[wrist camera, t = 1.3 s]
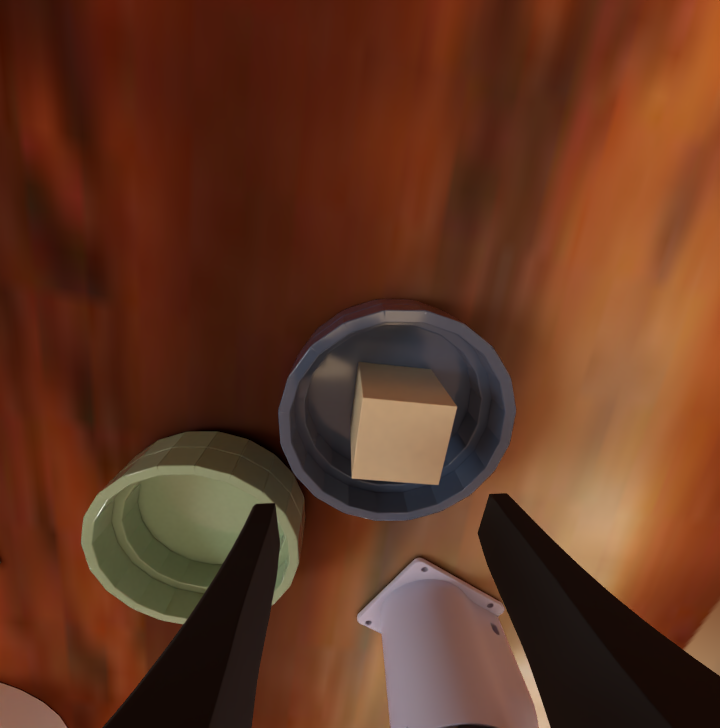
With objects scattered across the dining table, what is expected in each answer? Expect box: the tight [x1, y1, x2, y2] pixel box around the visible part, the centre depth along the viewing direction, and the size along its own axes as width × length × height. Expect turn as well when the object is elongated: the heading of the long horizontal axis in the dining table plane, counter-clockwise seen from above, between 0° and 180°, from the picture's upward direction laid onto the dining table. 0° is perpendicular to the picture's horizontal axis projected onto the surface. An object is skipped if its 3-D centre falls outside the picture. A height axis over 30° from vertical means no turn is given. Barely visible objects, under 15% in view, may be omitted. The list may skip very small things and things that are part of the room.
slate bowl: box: [278, 299, 516, 521], centre depth 19 cm, size 12×12×4 cm
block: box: [350, 362, 457, 485], centre depth 18 cm, size 4×4×5 cm
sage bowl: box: [81, 431, 305, 624], centre depth 21 cm, size 12×12×4 cm
